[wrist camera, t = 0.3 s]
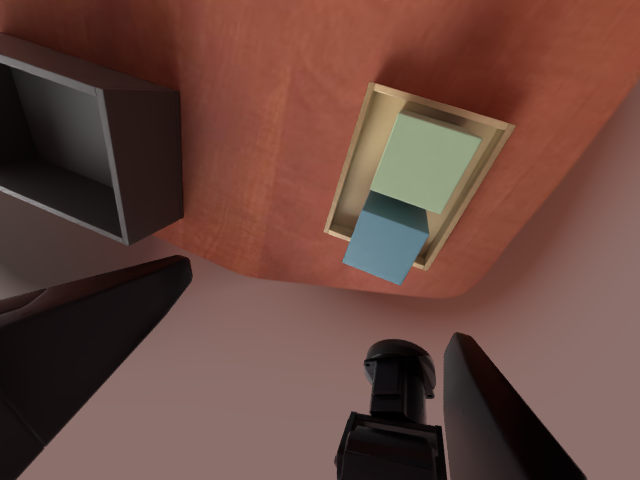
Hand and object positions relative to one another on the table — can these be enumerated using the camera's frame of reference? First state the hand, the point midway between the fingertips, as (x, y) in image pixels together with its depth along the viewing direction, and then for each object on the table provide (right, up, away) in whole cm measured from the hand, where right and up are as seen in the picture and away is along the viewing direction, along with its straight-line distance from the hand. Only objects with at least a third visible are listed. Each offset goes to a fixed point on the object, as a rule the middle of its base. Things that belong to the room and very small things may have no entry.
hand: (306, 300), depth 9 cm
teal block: (+6, +4, +12) cm, 14 cm away
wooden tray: (+7, +6, +11) cm, 15 cm away
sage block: (+7, +8, +10) cm, 15 cm away
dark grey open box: (-22, +13, +18) cm, 31 cm away
